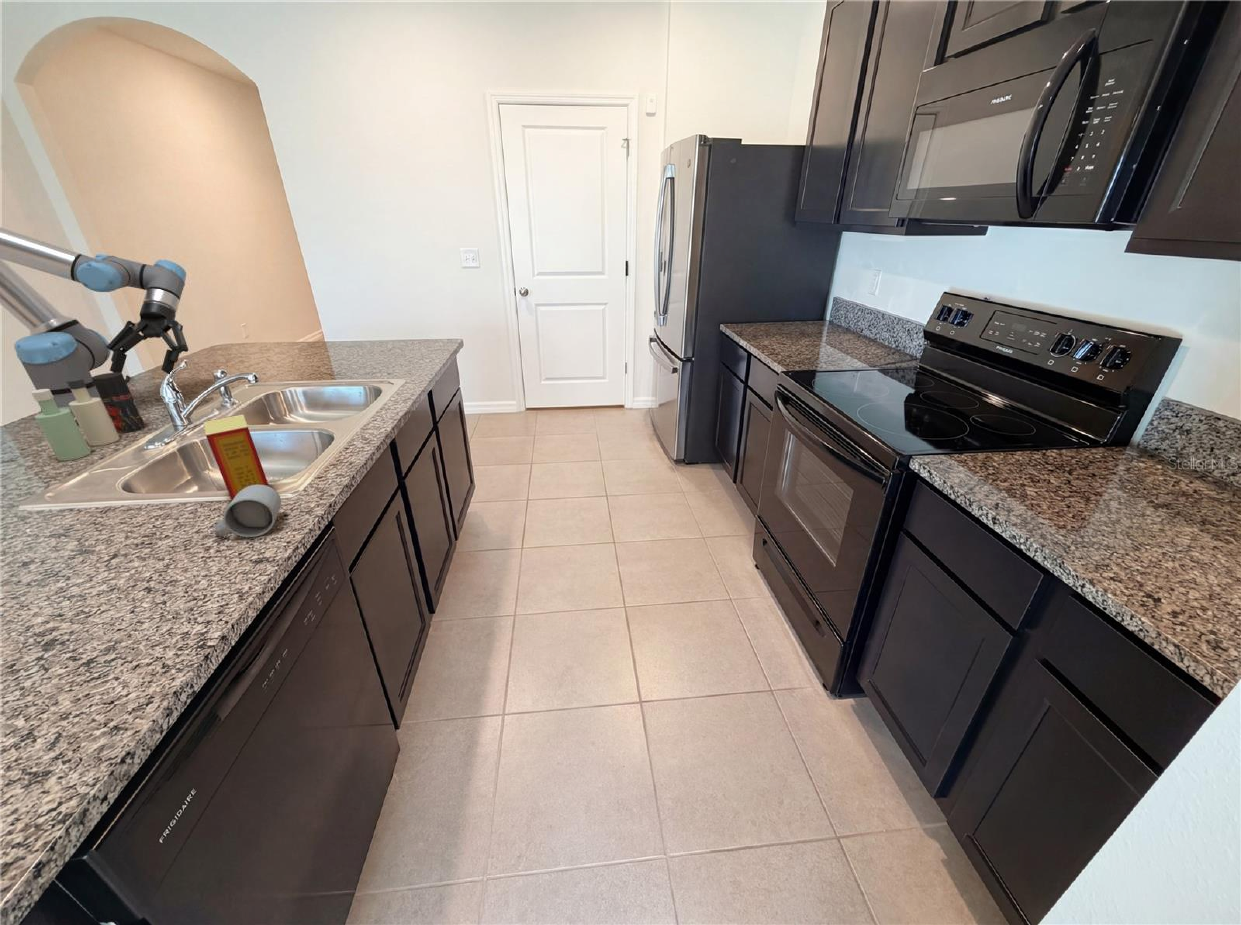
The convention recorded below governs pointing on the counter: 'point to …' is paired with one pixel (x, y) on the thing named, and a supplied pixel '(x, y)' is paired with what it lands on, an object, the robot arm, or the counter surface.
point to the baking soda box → (235, 453)
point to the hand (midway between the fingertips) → (141, 372)
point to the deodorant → (118, 402)
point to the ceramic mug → (250, 512)
